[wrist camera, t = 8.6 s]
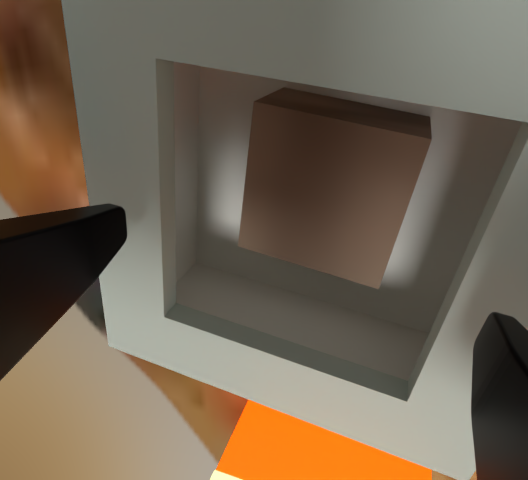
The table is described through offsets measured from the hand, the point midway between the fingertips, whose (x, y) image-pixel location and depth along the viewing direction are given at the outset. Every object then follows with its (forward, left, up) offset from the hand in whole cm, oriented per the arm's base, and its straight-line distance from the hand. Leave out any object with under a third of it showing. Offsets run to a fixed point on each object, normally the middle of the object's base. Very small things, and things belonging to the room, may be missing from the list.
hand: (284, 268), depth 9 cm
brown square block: (0, 0, -6) cm, 7 cm away
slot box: (0, 0, -7) cm, 7 cm away
